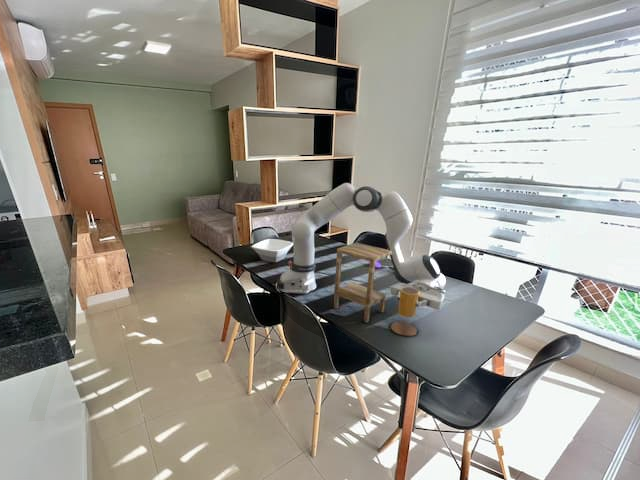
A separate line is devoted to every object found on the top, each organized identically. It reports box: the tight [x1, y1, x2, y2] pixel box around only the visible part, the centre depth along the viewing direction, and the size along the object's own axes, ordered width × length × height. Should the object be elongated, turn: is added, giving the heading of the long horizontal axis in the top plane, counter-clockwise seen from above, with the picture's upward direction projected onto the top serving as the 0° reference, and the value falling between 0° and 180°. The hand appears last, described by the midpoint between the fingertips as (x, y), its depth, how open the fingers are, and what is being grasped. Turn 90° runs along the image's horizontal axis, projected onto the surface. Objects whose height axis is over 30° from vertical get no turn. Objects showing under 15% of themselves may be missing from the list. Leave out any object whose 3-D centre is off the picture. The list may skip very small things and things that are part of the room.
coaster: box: [390, 321, 418, 337], centre depth 119 cm, size 10×10×1 cm
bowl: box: [250, 238, 293, 263], centre depth 201 cm, size 24×25×10 cm
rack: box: [333, 242, 392, 324], centre depth 129 cm, size 14×18×30 cm
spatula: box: [368, 260, 394, 272], centre depth 180 cm, size 24×7×2 cm, turn 37°
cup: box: [397, 287, 419, 318], centre depth 114 cm, size 7×7×10 cm
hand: (407, 301), depth 114 cm, fingers closed on cup, 6 cm apart
